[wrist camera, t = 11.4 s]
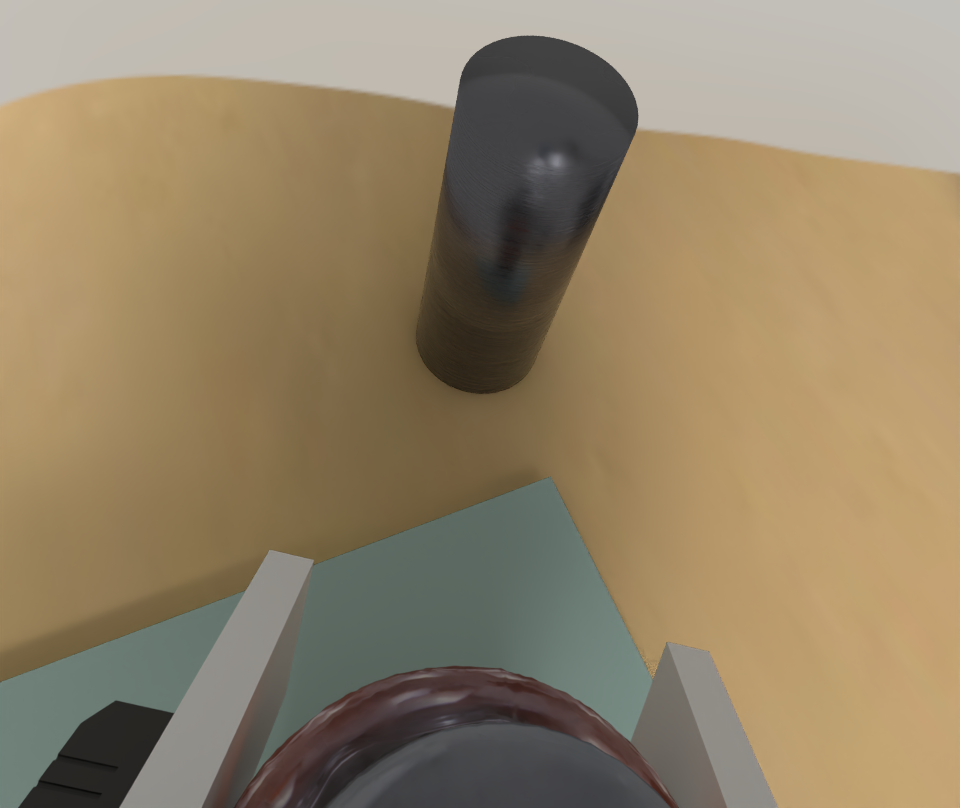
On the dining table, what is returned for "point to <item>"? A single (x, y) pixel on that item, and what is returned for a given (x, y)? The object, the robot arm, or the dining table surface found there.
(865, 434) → the dining table surface
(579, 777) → the supplement bottle
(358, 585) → the board
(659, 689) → the robot arm
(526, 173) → the spacer posts
